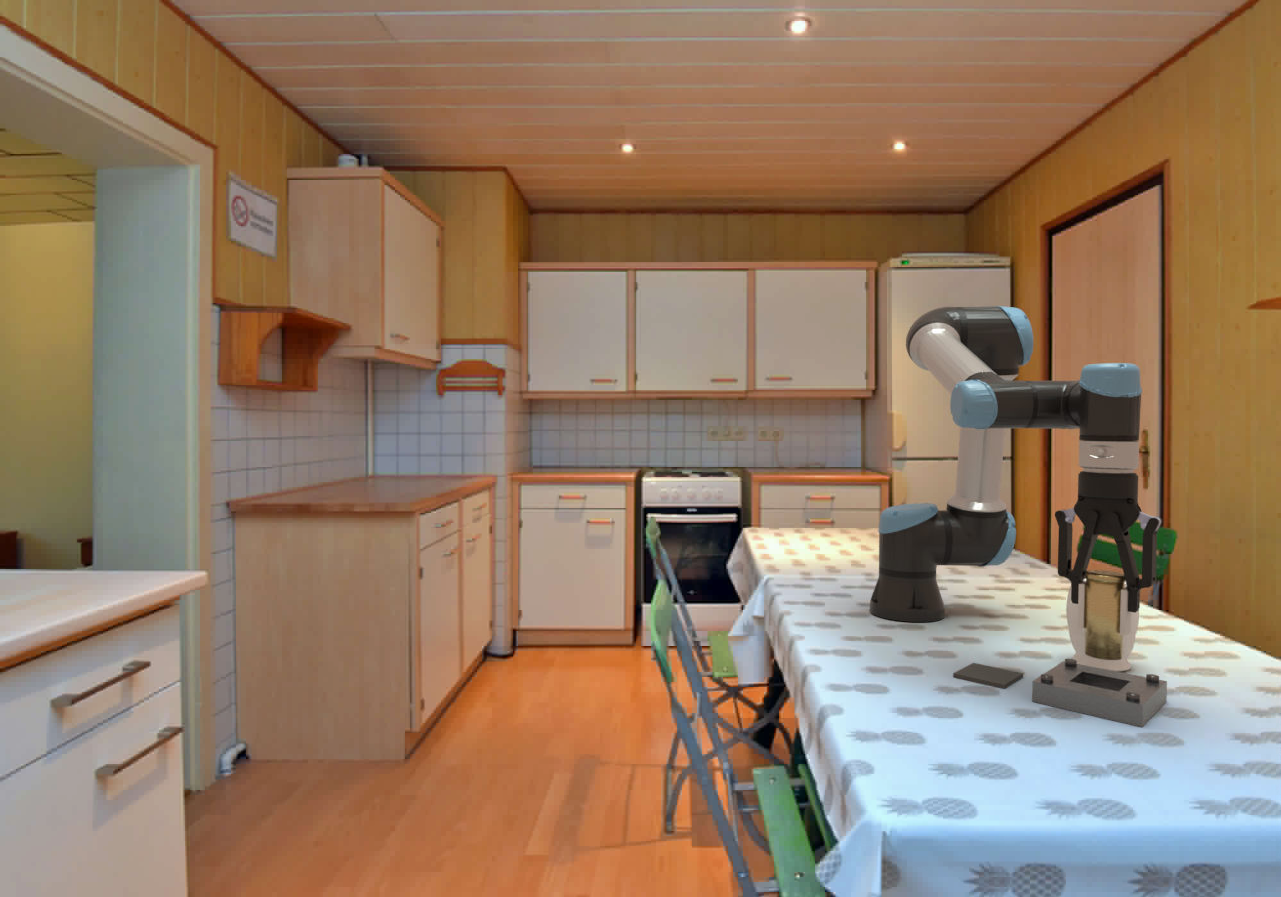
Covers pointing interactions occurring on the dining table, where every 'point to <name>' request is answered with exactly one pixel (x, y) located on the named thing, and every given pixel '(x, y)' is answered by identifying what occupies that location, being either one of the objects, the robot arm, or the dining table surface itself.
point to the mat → (988, 675)
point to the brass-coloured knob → (1103, 614)
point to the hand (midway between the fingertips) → (1103, 629)
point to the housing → (1101, 692)
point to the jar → (1079, 640)
